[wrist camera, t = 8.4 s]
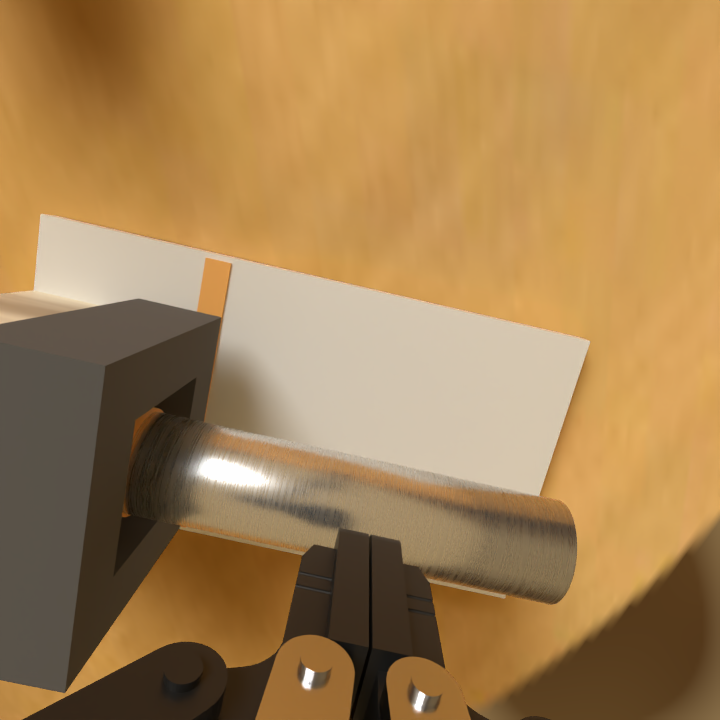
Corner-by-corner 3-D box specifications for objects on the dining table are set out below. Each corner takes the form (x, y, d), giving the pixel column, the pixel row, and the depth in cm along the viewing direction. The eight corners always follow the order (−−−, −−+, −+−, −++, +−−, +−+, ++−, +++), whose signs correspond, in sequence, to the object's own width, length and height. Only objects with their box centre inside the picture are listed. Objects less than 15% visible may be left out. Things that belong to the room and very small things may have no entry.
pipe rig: (56, 215, 20) (-243, 177, 10) (579, 337, 21) (771, 410, 11) (30, 483, 22) (-231, 660, 13) (499, 584, 23) (596, 825, 13)
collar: (138, 298, 18) (-45, 332, 10) (221, 317, 18) (105, 366, 10) (111, 499, 19) (-65, 667, 11) (187, 515, 19) (64, 693, 11)
